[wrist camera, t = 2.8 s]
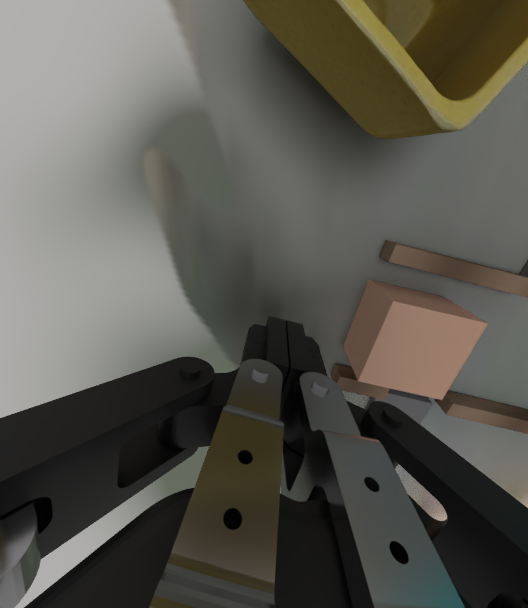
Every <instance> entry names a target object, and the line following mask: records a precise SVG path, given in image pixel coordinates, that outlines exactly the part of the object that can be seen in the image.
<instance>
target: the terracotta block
mask: <svg viewBox="0 0 528 608" xmlns="http://www.w3.org/2000/svg"><path fill="white" fill-rule="evenodd" d="M487 325H488V323H486V322H485V321H483V320H481V319H480V318H478V317H476V316H475V315H473V314H471V313H470V312H468V311H466V310H465V309H463V308H461V307H460V306H458V305H456V304H455V303H453V302H451V301H450V300H448V299H446V298H445V297H441V296H437V295H432V294H428V293H424V292H420V291H416V290H411V289H407V288H403V287H399V286H395V285H390V284H386V283H382V282H378V281H374V280H369V281H368V283H367V286H366V289H365V291H364V294H363V296H362V299H361V301H360V304H359V306H358V309H357V312H356V314H355V317H354V319H353V322H352V324H351V327H350V329H349V332H348V335H347V337H346V340H345V342H344V345H343V348H344V350H345V352H346V355H347V357H348V359H349V361H350V364H351V366H352V368H353V371H354V373H355V375H356V378H357V380H358V381H359V382H364V383H368V384H373V385H377V386H382V387H386V388H390V389H395V390H399V391H404V392H408V393H413V394H417V395H422V396H426V397H431V398H435V399H439V400H442V399H443V398H444V396H445V394H446V393H447V391H448V389H449V388H450V386H451V384H452V383H453V381H454V379H455V378H456V376H457V374H458V373H459V371H460V369H461V368H462V366H463V364H464V363H465V361H466V360H467V358H468V356H469V355H470V353H471V351H472V350H473V348H474V346H475V345H476V343H477V341H478V340H479V338H480V336H481V335H482V333H483V331H484V330H485V328H486V326H487Z"/></svg>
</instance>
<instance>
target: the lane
mask: <svg viewBox="0 0 528 608" xmlns="http://www.w3.org/2000/svg"><path fill="white" fill-rule="evenodd" d="M380 257H382V258H383V259H385V260H387V261H388V262H392V263H396V264H400V265H403V266H407V267H411V268H415V269H419V270H423V271H427V272H431V273H435V274H439V275H442V276H446V277H450V278H454V279H458V280H462V281H466V282H470V283H474V284H478V285H481V286H485V287H489V288H493V289H497V290H501V291H505V292H509V293H513V294H517V295H520V296H524V297H528V277H525V276H522V275H519V274H515V273H511V272H507V271H503V270H499V269H495V268H492V267H488V266H484V265H480V264H476V263H472V262H468V261H465V260H461V259H457V258H453V257H449V256H445V255H442V254H438V253H434V252H430V251H426V250H422V249H418V248H415V247H411V246H407V245H403V244H399V243H395V242H391V241H388V240H386V242H385V244H384V246H383V249H382V251H381V254H380ZM331 376H332V380H333V381H335V382H336V383H337V384H338V385H339V387H340V388H341V390H344V391H349V392H353V393H357V394H361V395H366V396H370V397H374V398H378V399H383V400H384V399H385V397H386V395H387V393H388V391H389V389H390V388H386V387H382V386H377V385H373V384H368V383H364V382H359V381H358V380H357V378H356V375H355V373H354V371H353V368H352V367H348V366H343V365H339V364H335V366H334V369H333V371H332V374H331ZM434 400H435V401H436V402H437V403H438V405H439V406H440V407H441V409H442V410H443V411H444V413H445V414H446V415H450V416H455V417H459V418H463V419H467V420H472V421H476V422H480V423H484V424H489V425H493V426H497V427H501V428H505V429H510V430H514V431H518V432H522V433H527V434H528V410H527V409H523V408H519V407H515V406H510V405H506V404H502V403H498V402H494V401H489V400H485V399H481V398H477V397H473V396H469V395H464V394H460V393H456V392H452V391H447V393H446V394H445V396H444V398H443V399H442V400H439V399H434Z"/></svg>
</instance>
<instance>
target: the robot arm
mask: <svg viewBox="0 0 528 608" xmlns="http://www.w3.org/2000/svg"><path fill="white" fill-rule="evenodd" d="M203 446H209V449H208V452H207V455H206V457H205V460H204V463H203V466H202V468H201V471H200V474H199V477H198V479H197V482H196V485H195V488H191V489H186V490H183V491H180V492H177V493H174V494H172V495H170V496H168V497H166V498H164V499H162V500H160V501H158V502H157V503H155V504H154V505H152V506H151V507H150V508H148V509H147V510H145V511H144V512H143V513H141V514H140V515H139V516H138V517H136V518H135V519H134V520H133V521H131V522H130V523H129V524H128V525H126V526H125V527H124V528H123V529H121V530H120V531H119V532H118V533H117V534H115V535H114V536H113V537H111V538H110V539H109V540H108V541H106V542H105V543H104V544H103V545H101V546H100V547H99V548H98V549H97V550H95V551H94V552H93V553H91V554H90V555H89V556H88V557H87V558H85V559H84V560H83V561H82V562H80V563H79V564H78V565H77V566H76V567H74V568H73V569H72V570H70V571H69V572H68V573H67V574H65V575H64V576H63V577H62V578H60V579H59V580H58V581H57V582H56V583H54V584H53V585H52V586H50V587H49V588H48V589H47V590H45V591H44V592H43V593H42V594H40V595H39V596H38V597H37V598H35V599H34V600H33V601H32V602H30V603H29V604H28V605H27V606H26V607H24V608H528V508H527V507H525V506H524V505H523V504H522V503H520V502H519V501H518V500H516V499H515V498H514V497H513V496H511V495H510V494H509V493H507V492H506V491H505V490H504V489H502V488H501V487H500V486H498V485H497V484H496V483H495V482H493V481H492V480H491V479H489V478H488V477H487V476H485V475H484V474H483V473H482V472H480V471H479V470H478V469H476V468H475V467H474V466H473V465H471V464H470V463H469V462H467V461H466V460H465V459H464V458H462V457H461V456H460V455H458V454H457V453H456V452H455V451H453V450H452V449H451V448H449V447H448V446H447V445H445V444H444V443H443V442H442V441H440V440H439V439H438V438H436V437H435V436H434V435H433V434H431V433H430V432H429V431H427V430H426V429H425V428H424V427H422V426H421V425H420V424H418V423H417V422H416V421H414V420H413V419H412V418H411V417H409V416H408V415H407V414H405V413H404V412H403V411H401V410H400V409H399V408H397V407H395V406H393V405H391V404H389V403H386V402H382V401H374V402H372V403H370V405H369V406H368V408H367V410H365V409H363V408H361V407H359V406H357V405H354V404H352V403H350V402H348V401H346V400H345V397H344V395H343V393H342V390H341V388H340V387H339V385H338V384H337V383H336V382H335V381H333V380H332V379H331V378H329V377H327V373H326V370H325V366H324V363H323V360H322V356H321V354H320V349H319V345H318V344H317V343H316V342H315V341H314V339H313V338H311V337H307V336H305V333H304V328H303V324H300V323H295V322H291V321H287V320H286V321H285V320H283V319H279V318H275V317H271V316H269V317H268V320H267V324H266V326H261V325H257V324H254V325H253V326H252V327H250V328H249V331H248V335H247V339H246V343H245V347H244V350H243V354H242V358H241V363H240V367H239V368H238V369H236V370H235V371H232V372H228V373H214V369H213V367H212V366H211V365H210V364H209V363H207V362H206V361H204V360H202V359H199V358H195V357H181V358H177V359H174V360H171V361H168V362H165V363H162V364H159V365H156V366H153V367H150V368H147V369H144V370H141V371H138V372H135V373H132V374H129V375H126V376H123V377H121V378H118V379H115V380H112V381H109V382H106V383H103V384H100V385H97V386H94V387H91V388H88V389H85V390H83V391H79V392H76V393H73V394H70V395H68V396H65V397H62V398H59V399H56V400H53V401H50V402H47V403H44V404H41V405H38V406H35V407H32V408H29V409H27V410H23V411H20V412H17V413H15V414H11V415H9V416H6V417H3V418H0V608H14V607H15V606H16V605H17V604H18V603H19V602H20V600H21V599H22V598H23V597H24V595H25V594H26V592H27V591H28V589H29V588H30V586H31V585H32V583H33V581H34V579H35V577H36V575H37V572H38V569H39V566H40V561H41V559H42V558H43V557H45V556H46V555H48V554H49V553H50V552H52V551H53V550H55V549H56V548H58V547H59V546H61V545H62V544H64V543H65V542H66V541H68V540H70V539H71V538H72V537H74V536H75V535H77V534H78V533H80V532H81V531H83V530H84V529H85V528H87V527H88V526H90V525H91V524H93V523H94V522H96V521H97V520H99V519H100V518H102V517H103V516H104V515H106V514H107V513H109V512H110V511H112V510H113V509H114V508H116V507H118V506H119V505H120V504H122V503H123V502H125V501H126V500H128V499H129V498H131V497H132V496H133V495H135V494H136V493H138V492H139V491H141V490H142V489H144V488H145V487H147V486H148V485H149V484H151V483H152V482H154V481H155V480H157V479H158V478H160V477H161V476H163V475H164V474H166V473H167V472H169V471H170V470H171V469H173V468H174V467H176V466H177V465H179V464H180V463H182V462H183V461H184V460H186V459H187V458H189V457H190V456H192V455H193V454H194V453H195V452H196V451H197V449H198V447H203ZM398 464H400V465H401V466H402V467H403V468H404V469H405V470H406V471H407V472H408V473H409V474H410V475H411V476H412V477H413V478H415V479H416V480H417V481H418V482H419V483H420V484H421V485H422V486H423V487H424V488H425V489H426V490H427V491H429V492H430V493H431V494H432V495H433V496H434V497H435V498H436V499H437V500H438V501H439V502H440V503H441V504H442V506H443V507H444V509H445V511H446V513H447V517H448V518H447V519H446V520H445V521H438V520H435V519H434V518H432V517H431V516H429V515H428V514H427V513H426V512H425V511H424V510H423V509H422V508H421V507H420V506H419V505H418V504H417V503H416V502H415V501H414V500H413V499H412V498H411V497H410V496H409V495H408V494H407V492H406V490H405V488H404V486H403V484H402V482H401V480H400V478H399V476H398V474H397V472H396V470H395V468H396V466H397V465H398ZM280 484H281V494H280Z"/></svg>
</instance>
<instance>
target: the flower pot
mask: <svg viewBox="0 0 528 608" xmlns="http://www.w3.org/2000/svg"><path fill="white" fill-rule="evenodd" d="M243 1H244V2H245V4H246V5H247V6H248V8H249V9H250V10H251V12H252V13H253V14H254V16H255V17H256V18H257V19H258V20H259V21H260V22H261V23H262V24H263V25H264V26H265V27H266V28H267V29H268V30H269V31H270V32H271V33H272V34H273V35H274V36H275V37H276V38H277V39H278V40H279V41H280V42H281V43H282V45H283V46H284V47H285V48H286V49H287V50H288V51H289V52H290V53H291V54H292V55H293V56H294V57H295V58H296V59H297V60H298V61H299V62H300V63H301V64H302V65H303V66H304V67H305V68H306V69H307V70H308V72H309V73H310V74H311V75H312V76H313V77H314V78H315V79H316V80H317V81H318V82H319V83H320V84H321V85H322V86H323V87H324V88H325V89H326V90H327V91H328V93H329V94H330V95H331V96H332V97H333V98H334V99H335V100H336V101H337V102H338V103H339V104H340V105H341V106H342V107H343V108H344V109H345V111H346V112H347V113H348V114H349V115H350V116H351V117H352V118H353V119H354V120H355V122H356V123H357V124H358V125H359V126H360V127H361V128H363V129H364V130H365V131H366V132H367V133H369V134H370V135H372V136H374V137H377V138H381V139H394V138H404V137H413V136H421V135H429V134H435V133H444V132H453V131H459V130H462V129H463V128H465V127H466V126H468V125H469V124H470V123H471V122H472V121H473V120H474V119H475V118H476V117H477V116H478V115H479V114H480V113H481V112H482V111H483V110H484V109H485V108H486V107H487V106H488V105H489V104H490V103H491V102H492V101H493V100H494V99H495V98H496V96H497V95H498V94H499V93H500V92H501V91H502V89H503V88H504V87H505V86H506V85H507V84H508V83H509V82H510V81H511V80H512V79H513V78H514V77H515V76H516V74H517V73H518V72H519V71H520V70H521V69H522V68H523V67H524V66H525V65H526V64H527V63H528V0H243Z"/></svg>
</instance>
